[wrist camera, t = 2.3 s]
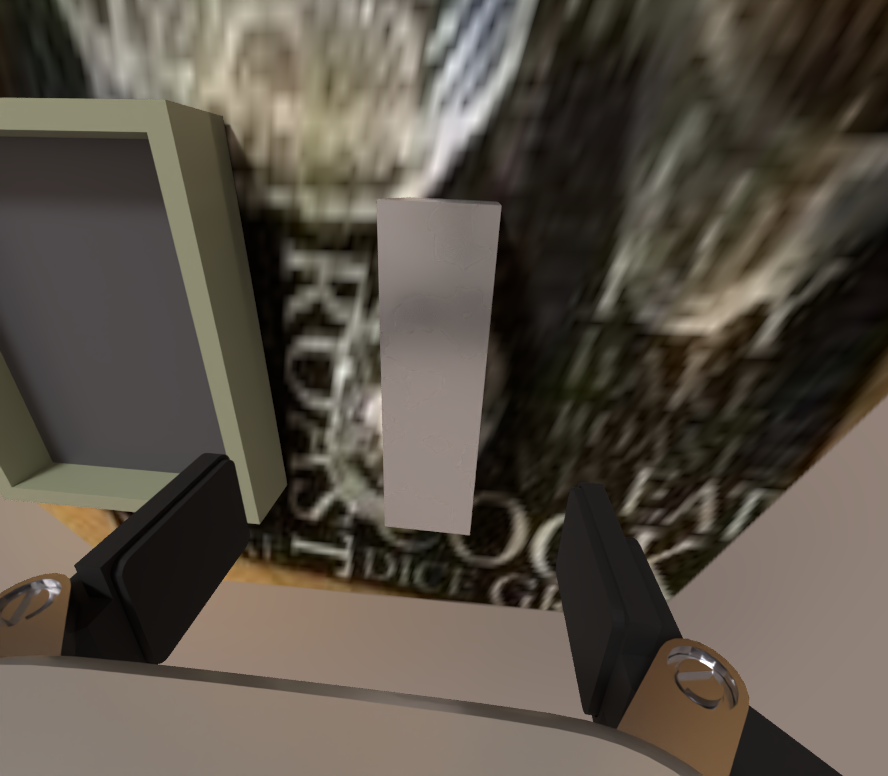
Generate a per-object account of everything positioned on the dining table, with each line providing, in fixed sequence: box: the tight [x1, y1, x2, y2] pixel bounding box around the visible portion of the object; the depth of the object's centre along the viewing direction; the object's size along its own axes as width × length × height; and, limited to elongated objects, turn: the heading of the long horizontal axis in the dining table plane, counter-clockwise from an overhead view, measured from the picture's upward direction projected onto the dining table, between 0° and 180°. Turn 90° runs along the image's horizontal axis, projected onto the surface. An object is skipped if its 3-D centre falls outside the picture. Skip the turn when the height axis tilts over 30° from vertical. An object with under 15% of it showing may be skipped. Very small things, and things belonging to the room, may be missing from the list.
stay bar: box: [377, 197, 501, 535], centre depth 19 cm, size 4×14×6 cm, turn 177°
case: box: [0, 98, 287, 524], centre depth 21 cm, size 16×20×4 cm
